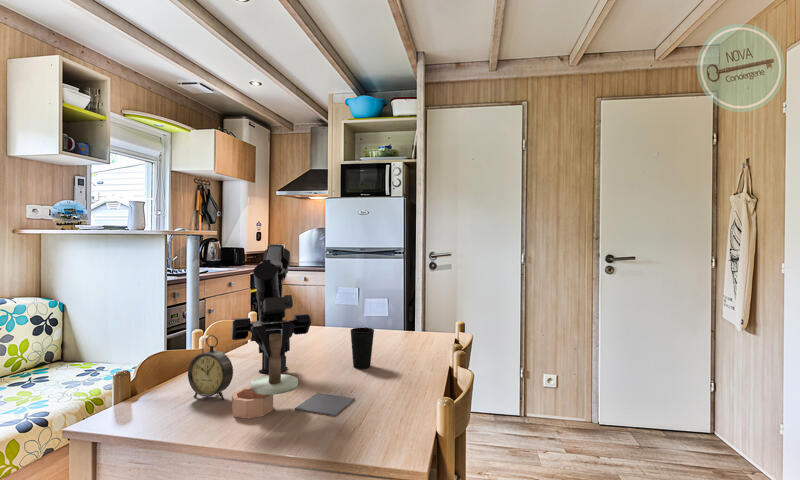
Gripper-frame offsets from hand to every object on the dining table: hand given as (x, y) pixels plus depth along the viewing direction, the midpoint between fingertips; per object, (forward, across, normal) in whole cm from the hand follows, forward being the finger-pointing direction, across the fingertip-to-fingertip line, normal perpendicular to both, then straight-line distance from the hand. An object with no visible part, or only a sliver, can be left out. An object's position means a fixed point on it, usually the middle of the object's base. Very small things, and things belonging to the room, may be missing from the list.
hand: (275, 356), depth 100 cm
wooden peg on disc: (+4, 0, +6) cm, 8 cm away
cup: (-8, +32, +27) cm, 43 cm away
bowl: (+7, -5, +12) cm, 15 cm away
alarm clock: (-2, -13, +21) cm, 25 cm away
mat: (+10, +12, +9) cm, 18 cm away
